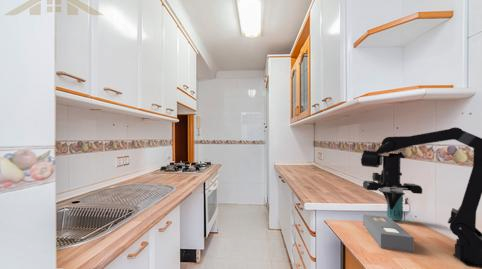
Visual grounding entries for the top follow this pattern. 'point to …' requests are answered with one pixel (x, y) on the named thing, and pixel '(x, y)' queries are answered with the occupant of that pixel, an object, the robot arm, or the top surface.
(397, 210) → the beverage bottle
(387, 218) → the collar block
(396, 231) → the white peg
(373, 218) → the birch peg
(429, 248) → the top surface
